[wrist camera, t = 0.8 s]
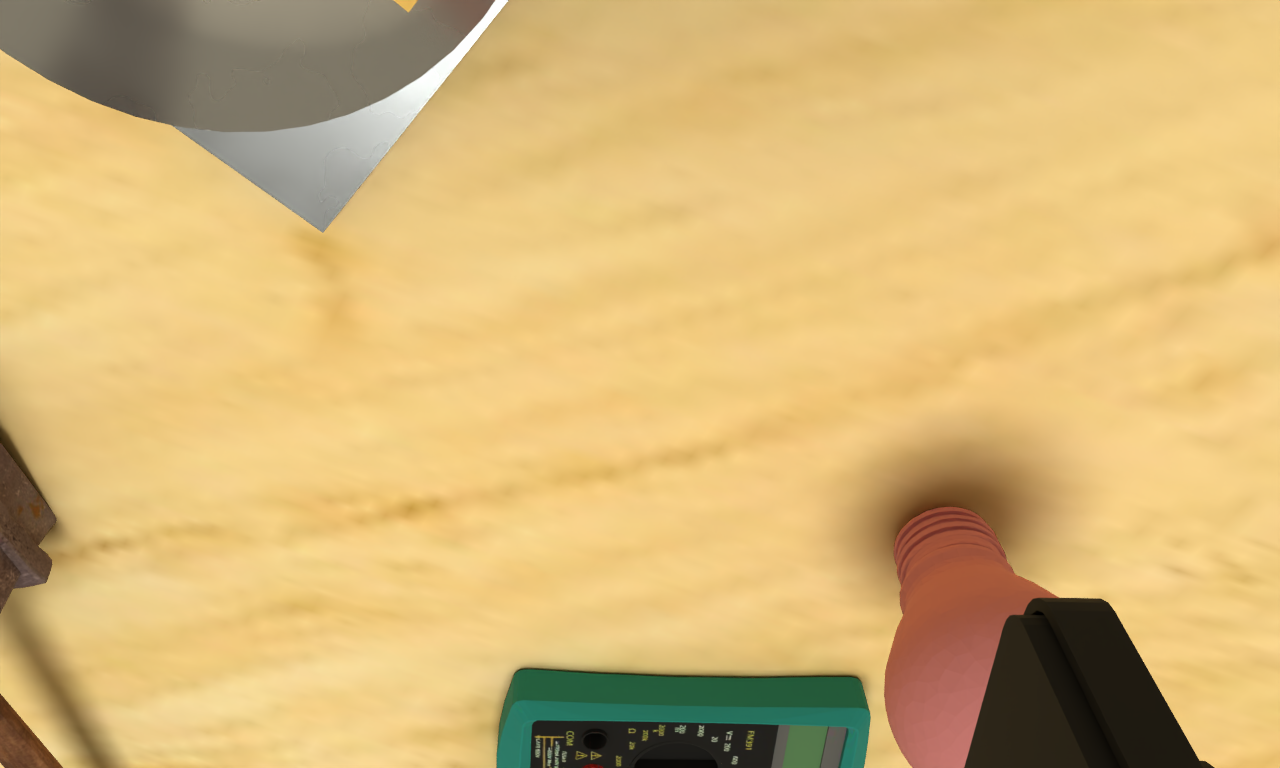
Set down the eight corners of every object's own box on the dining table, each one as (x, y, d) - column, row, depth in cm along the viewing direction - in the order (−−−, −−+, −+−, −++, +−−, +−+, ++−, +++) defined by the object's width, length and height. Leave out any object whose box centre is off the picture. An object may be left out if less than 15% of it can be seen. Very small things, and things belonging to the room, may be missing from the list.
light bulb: (821, 476, 42) (897, 728, 32) (1018, 430, 42) (1160, 672, 31) (853, 619, 46) (931, 887, 36) (1034, 579, 45) (1167, 840, 35)
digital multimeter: (501, 658, 47) (496, 713, 44) (865, 666, 48) (880, 721, 45) (499, 783, 51) (495, 841, 48) (837, 788, 52) (850, 845, 49)
